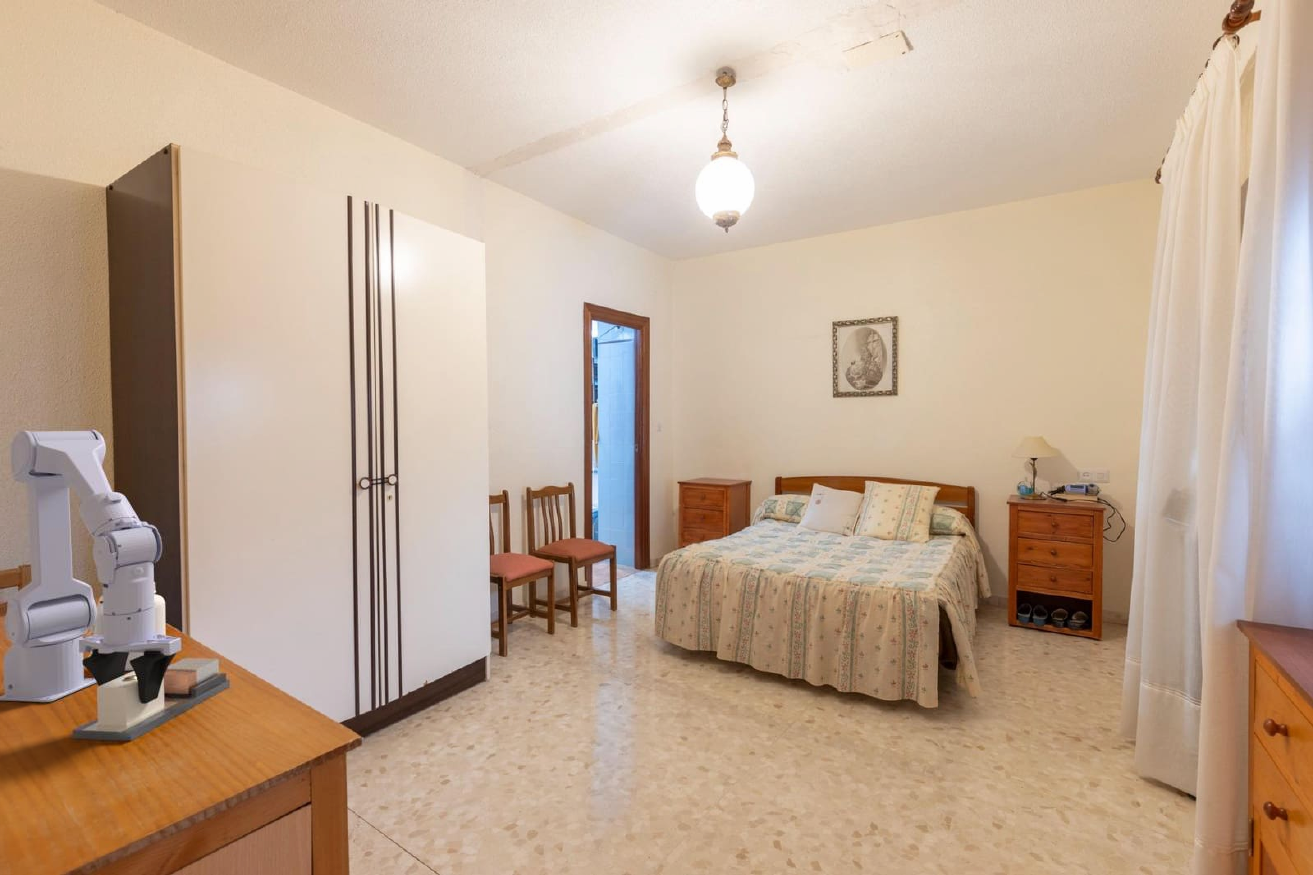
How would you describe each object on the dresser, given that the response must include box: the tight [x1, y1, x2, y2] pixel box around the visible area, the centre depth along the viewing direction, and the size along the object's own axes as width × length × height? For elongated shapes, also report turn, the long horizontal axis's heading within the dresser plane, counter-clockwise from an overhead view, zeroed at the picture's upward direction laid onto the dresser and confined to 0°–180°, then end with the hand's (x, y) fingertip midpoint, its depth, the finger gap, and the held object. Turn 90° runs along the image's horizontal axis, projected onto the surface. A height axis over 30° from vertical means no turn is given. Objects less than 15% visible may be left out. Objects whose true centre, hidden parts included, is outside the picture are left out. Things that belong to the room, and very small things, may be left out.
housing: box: [96, 670, 164, 726], centre depth 89 cm, size 4×6×6 cm
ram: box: [164, 657, 220, 694], centre depth 98 cm, size 6×6×4 cm
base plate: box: [72, 672, 231, 742], centre depth 93 cm, size 9×18×2 cm, turn 175°
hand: (131, 700), depth 89 cm, fingers open, 5 cm apart
